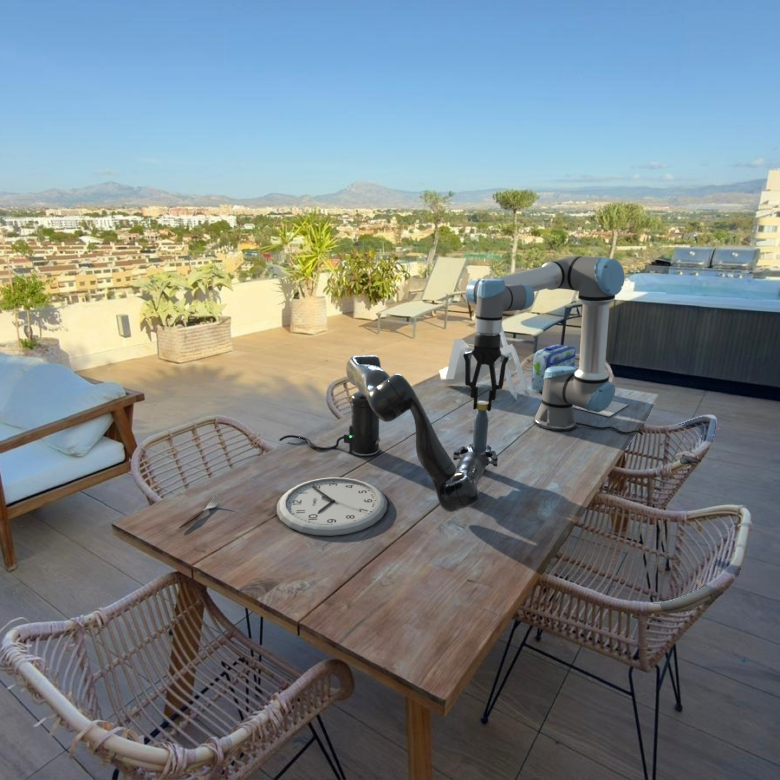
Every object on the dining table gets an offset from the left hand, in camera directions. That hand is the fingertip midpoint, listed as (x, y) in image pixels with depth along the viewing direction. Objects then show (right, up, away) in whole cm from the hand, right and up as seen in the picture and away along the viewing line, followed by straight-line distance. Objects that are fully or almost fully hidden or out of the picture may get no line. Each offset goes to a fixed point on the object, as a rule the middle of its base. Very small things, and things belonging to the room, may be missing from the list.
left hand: (480, 446), depth 166 cm
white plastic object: (+13, +17, +77) cm, 80 cm away
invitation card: (+63, +11, +60) cm, 88 cm away
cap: (-1, +14, -7) cm, 16 cm away
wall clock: (-45, -13, -23) cm, 52 cm away
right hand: (-1, +12, -7) cm, 14 cm away
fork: (-78, -15, -29) cm, 85 cm away
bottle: (-1, -7, 0) cm, 7 cm away
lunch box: (+48, +18, +84) cm, 99 cm away
